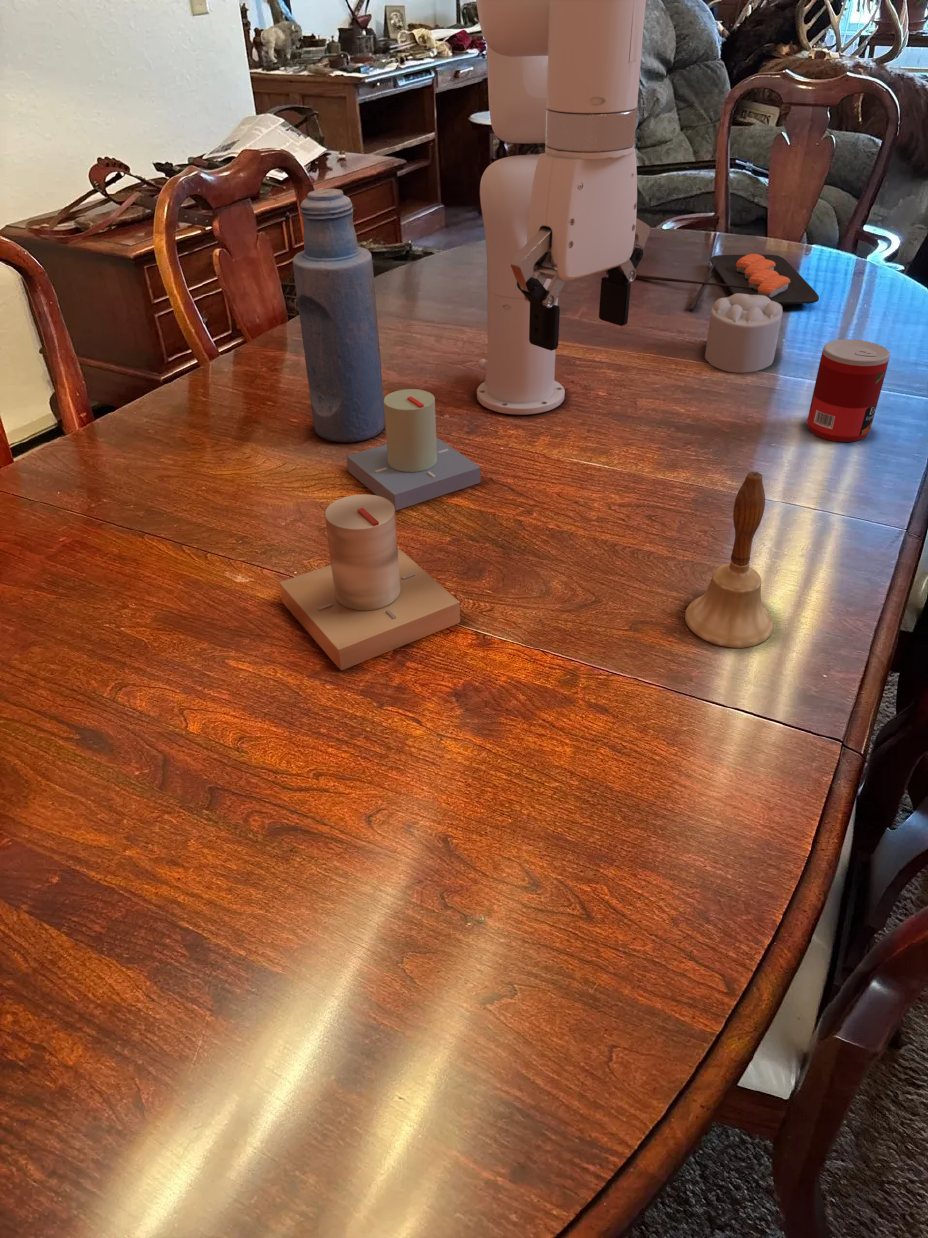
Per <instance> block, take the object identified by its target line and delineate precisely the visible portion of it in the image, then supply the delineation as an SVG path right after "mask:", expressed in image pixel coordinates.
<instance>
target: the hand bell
mask: <svg viewBox="0 0 928 1238" xmlns="http://www.w3.org/2000/svg"><path fill="white" fill-rule="evenodd" d="M765 504H766V493H765V487H764V483H763V474H762V473H760V472H758V471H749V472H748V473H747V474H746V476H745V479H744V481H743V482H742V485H741V486H740V487H739V490H738V491H737V494H736V496H735V500H734V503H733V513H732V514H733V515H732V520H733V527H734V536H735V537H734V542H733V547H732V551H731V555H730V563H725V564H722V565H719V566H718V567H717V568H716V569H714V571H713V573H712V576H711V578H710V581H709V585H708V586H707V588H706V591H704V593H703V595H700V596H699V597H697V598H695V599H693V601H692V602H691V603H689V605H688V606H687V607H686V610H685V612H684V620H685V623H686V625H687V627H688V628H689V630H690V631H691V632H692V633H693V634H694V635H696V636H697V637H698V638H700V639H701V640H703V641H706V642H707V643H710V644H713V645H715V646H719V647H724V648H734V649H742V648H750V647H754V646H756V645H757V646H758V645H759V644H762V643H763V642H765V641H766V640H767V639H769V638H770V637H771V636H772V633H773V631H774V622H773V618H772V616H771V614H770V612H769V611H768V610H767V608H766V607H765V606H764V605H763V602H762V577H761V575H760V574H759V572H758V571H757V570H756V569H754V568H752V567H750V561H751V553H752V545H753V540H754V536H755V534H756V532H757V531H758V528H759V527H760V525H761V522H762V519H763V517H764V513H765V509H766V508H765V506H766V505H765Z"/></svg>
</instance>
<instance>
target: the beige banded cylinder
mask: <svg viewBox="0 0 928 1238" xmlns="http://www.w3.org/2000/svg"><path fill="white" fill-rule="evenodd" d="M324 520H325V528H326V535H327V544H328V551H329V559H330V560H329V561H330V565H331V568H332V576H333V584H334V593H335V597H336V599H337V601H338V602H339V603H340V604H341V605H343V606H345V607H347V608H350V609H354V610H362V611H363V610H375V609H379V608H382V607H385V606H387V605H389V604H391V603H392V602H394V601H395V600H396V599H397V598H398V596H399V594H400V590H401V589H400V575H399V561H398V548H399V547H398V535H397V520H396V511H395V508H394V505H393V504H392V503H391V502H390V501H389V500H387V499H385V498H383V497H380V496H377V495H376V494H366V493H365V494H363V493H360V494H352V495H347V496H344V497H341V498H338V499H336V500H335V501H333V502H331V503H330V504H329V505H328V506H327V507H326V509H325V511H324Z"/></svg>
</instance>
